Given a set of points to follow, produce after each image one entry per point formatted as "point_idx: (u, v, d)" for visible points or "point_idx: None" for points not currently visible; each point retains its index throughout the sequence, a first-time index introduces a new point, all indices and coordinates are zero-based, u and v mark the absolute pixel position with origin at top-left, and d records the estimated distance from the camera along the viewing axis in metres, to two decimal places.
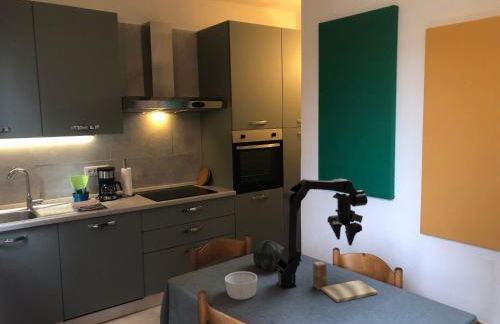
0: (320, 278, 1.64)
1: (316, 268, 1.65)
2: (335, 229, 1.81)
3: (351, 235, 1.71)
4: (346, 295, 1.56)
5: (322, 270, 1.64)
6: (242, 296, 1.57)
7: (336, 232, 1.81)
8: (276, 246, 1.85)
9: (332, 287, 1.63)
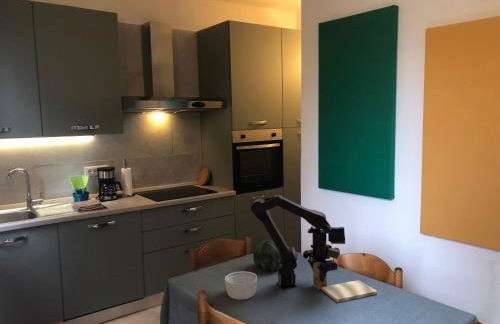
0: None
1: (316, 268, 1.65)
2: None
3: (323, 271, 1.63)
4: (346, 295, 1.56)
5: None
6: (242, 296, 1.57)
7: None
8: None
9: (332, 287, 1.63)
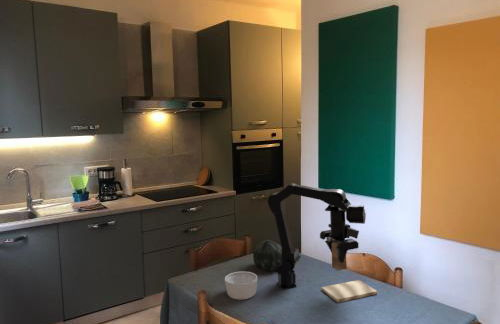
0: None
1: (335, 248, 1.57)
2: (331, 247, 1.61)
3: (343, 251, 1.55)
4: (346, 295, 1.56)
5: None
6: (242, 296, 1.57)
7: None
8: (276, 246, 1.85)
9: (332, 287, 1.63)
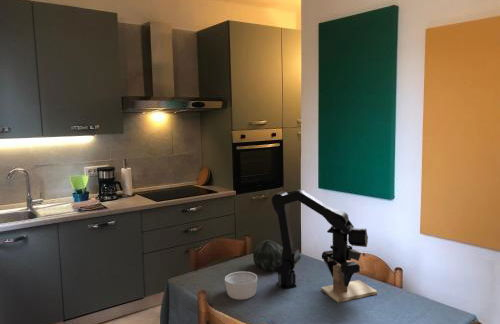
0: (341, 282, 1.57)
1: (336, 271, 1.57)
2: (330, 267, 1.63)
3: (347, 275, 1.54)
4: (346, 295, 1.56)
5: None
6: (242, 296, 1.57)
7: (331, 270, 1.63)
8: (276, 246, 1.85)
9: (332, 287, 1.63)
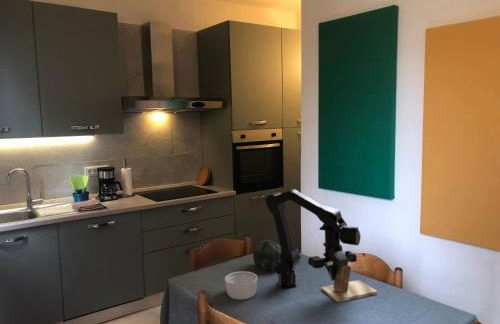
0: (343, 281, 1.58)
1: (340, 269, 1.58)
2: None
3: (329, 269, 1.57)
4: (346, 295, 1.56)
5: (346, 272, 1.58)
6: (242, 296, 1.57)
7: None
8: (276, 246, 1.85)
9: (332, 287, 1.63)
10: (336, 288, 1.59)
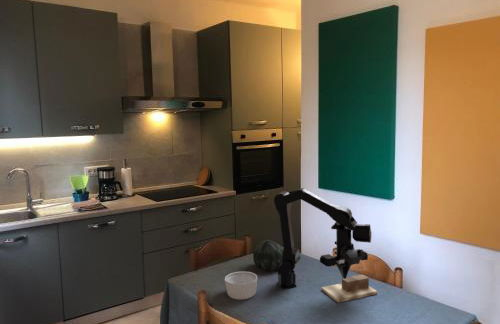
0: (357, 283, 1.60)
1: (363, 277, 1.62)
2: None
3: (340, 267, 1.59)
4: (346, 295, 1.56)
5: (364, 283, 1.61)
6: (242, 296, 1.57)
7: None
8: (276, 246, 1.85)
9: (332, 287, 1.63)
10: (346, 280, 1.60)
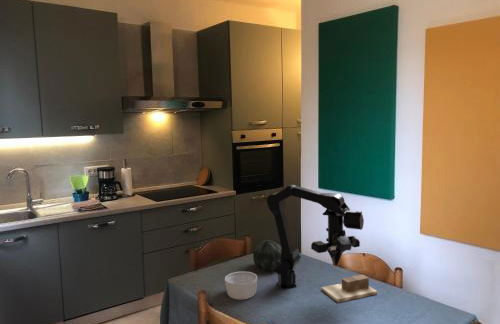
0: (357, 283, 1.60)
1: (363, 277, 1.62)
2: None
3: (332, 254, 1.57)
4: (346, 295, 1.56)
5: (364, 283, 1.61)
6: (242, 296, 1.57)
7: None
8: (276, 246, 1.85)
9: (332, 287, 1.63)
10: (346, 280, 1.60)
